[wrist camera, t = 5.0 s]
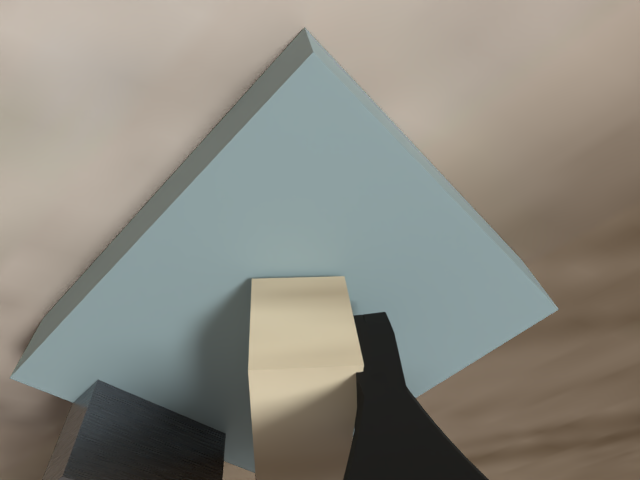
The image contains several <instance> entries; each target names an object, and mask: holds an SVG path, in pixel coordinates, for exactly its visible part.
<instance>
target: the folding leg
mask: <svg viewBox="0 0 640 480" xmlns="http://www.w3.org/2000/svg"><path fill="white" fill-rule="evenodd" d="M363 368H364V362H363V358H362V353H361V349H360V344H359V340H358V335H357V331H356V326H355V322H354V317H353V312H352V308H351V303H350V299H349V294H348V290H347V285H346V281H345V276H333V277H295V278H257V279H252V286H251V311H250V336H249V361H248V376H249V391H250V405H251V419H252V434H253V448H254V462H255V477H256V480H343V478H344V474H345V470H346V466H347V461H348V457H349V453H350V449H351V443H352V437H353V431H354V424H355V418H356V412H357V387H356V372H363Z"/></svg>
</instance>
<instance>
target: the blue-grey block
mask: <svg viewBox="0 0 640 480" xmlns="http://www.w3.org/2000/svg"><path fill="white" fill-rule="evenodd" d="M333 276H345V281H346V285H347V290H348V294H349V299H350V303H351V308H352V312H353V315H363V314H370V313H379V312H386V314H387V316H388V319H389V321H390V323H391V326H392V328H393V331H394V334H395V338H396V342H397V347H398V351H399V356H400V360H401V365H402V369H403V374H404V378H405V383H406V386H407V388H408V389H409V390H410V392H411V393H412V394H413V396H414V397H415V398H416V397H418V396H419V395H421V394H423V393H424V392H426V391H428V390H429V389H431V388H432V387H434V386H436V385H437V384H439V383H441V382H442V381H444V380H445V379H447V378H449V377H450V376H452V375H453V374H455V373H457V372H458V371H460V370H462V369H463V368H465V367H466V366H468V365H470V364H471V363H473V362H474V361H476V360H478V359H479V358H481V357H483V356H484V355H486V354H487V353H489V352H491V351H492V350H494V349H495V348H497V347H499V346H500V345H502V344H504V343H505V342H507V341H508V340H510V339H512V338H513V337H515V336H516V335H518V334H520V333H521V332H523V331H525V330H526V329H528V328H529V327H531V326H533V325H534V324H536V323H537V322H539V321H541V320H542V319H544V318H546V317H547V316H549V315H550V314H552V313H554V312H555V311H557V310H558V308H557V306H556V305H555V304H554V302H553V301H552V300H551V298H550V297H549V296H548V294H547V293H546V292H545V290H544V289H543V288H542V286H541V285H540V284H539V282H538V281H537V280H536V278H535V277H534V276H533V274H532V273H531V272H530V270H529V269H528V268H527V266H526V265H525V264H524V262H523V261H522V260H521V259H520V258H519V257H518V256H517V255H516V254H515V252H514V251H513V250H512V249H511V248H510V247H509V246H508V245H507V244H506V243H505V242H504V241H503V240H502V239H501V237H500V236H499V235H498V234H497V233H496V232H495V231H494V230H493V229H492V228H491V227H490V226H489V225H488V223H487V222H486V221H485V220H484V219H483V218H482V217H481V216H480V215H479V214H478V213H477V212H476V211H475V210H474V208H473V207H472V206H471V205H470V204H469V203H468V202H467V201H466V200H465V199H464V198H463V197H462V196H461V195H460V193H459V192H458V191H457V190H456V189H455V188H454V187H453V186H452V185H451V184H450V183H449V182H448V181H447V180H446V178H445V177H444V176H443V175H442V174H441V173H440V172H439V171H438V170H437V169H436V168H435V167H434V166H433V165H432V163H431V162H430V161H429V160H428V159H427V158H426V157H425V156H424V155H423V154H422V153H421V152H420V151H419V150H418V148H417V147H416V146H415V145H414V144H413V143H412V142H411V141H410V140H409V139H408V138H407V137H406V136H405V135H404V133H403V132H402V131H401V130H400V129H399V128H398V127H397V126H396V125H395V124H394V123H393V122H392V121H391V120H390V118H389V117H388V116H387V115H386V114H385V113H384V112H383V111H382V110H381V109H380V108H379V107H378V106H377V105H376V103H375V102H374V101H373V100H372V99H371V98H370V97H369V96H368V95H367V94H366V93H365V92H364V91H363V90H362V88H361V87H360V86H359V85H358V84H357V83H356V82H355V81H354V80H353V79H352V78H351V77H350V76H349V75H348V73H347V72H346V71H345V70H344V69H343V68H342V67H341V66H340V65H339V64H338V63H337V62H336V61H335V60H334V58H333V57H332V56H331V55H330V54H329V53H328V52H327V51H326V50H325V49H324V48H323V47H322V46H321V45H320V43H319V42H318V41H317V40H316V39H315V38H314V37H313V36H312V35H311V34H310V33H309V32H308V31H307V30H306V28H304V29H303V30H302V31H301V32H300V33H299V34H298V35H297V36H296V38H295V39H294V40H293V41H292V42H291V43H290V44H289V45H288V46H287V48H286V49H285V50H284V51H283V52H282V53H281V54H280V55H279V57H278V58H277V59H276V60H275V61H274V62H273V63H272V64H271V65H270V67H269V68H268V69H267V70H266V71H265V72H264V73H263V74H262V75H261V77H260V78H259V79H258V80H257V81H256V82H255V83H254V84H253V85H252V87H251V88H250V89H249V90H248V91H247V92H246V93H245V94H244V95H243V97H242V98H241V99H240V100H239V101H238V102H237V103H236V104H235V105H234V107H233V108H232V109H231V110H230V111H229V112H228V113H227V114H226V115H225V117H224V118H223V119H222V120H221V121H220V122H219V123H218V124H217V125H216V127H215V128H214V129H213V130H212V131H211V132H210V133H209V134H208V135H207V137H206V138H205V139H204V140H203V141H202V142H201V143H200V144H199V145H198V147H197V148H196V149H195V150H194V151H193V152H192V153H191V154H190V156H189V157H188V158H187V159H186V160H185V161H184V162H183V163H182V164H181V166H180V167H179V168H178V169H177V170H176V171H175V172H174V173H173V174H172V176H171V177H170V178H169V179H168V180H167V181H166V182H165V183H164V184H163V186H162V187H161V188H160V189H159V190H158V191H157V192H156V193H155V194H154V196H153V197H152V198H151V199H150V200H149V201H148V202H147V203H146V204H145V206H144V207H143V208H142V209H141V210H140V211H139V212H138V213H137V214H136V216H135V217H134V218H133V219H132V220H131V221H130V222H129V223H128V224H127V226H126V227H125V228H124V229H123V230H122V231H121V232H120V233H119V234H118V236H117V237H116V238H115V239H114V240H113V241H112V242H111V243H110V244H109V246H108V247H107V248H106V249H105V250H104V251H103V252H102V253H101V255H100V256H99V257H98V258H97V259H96V260H95V261H94V262H93V263H92V265H91V266H90V267H89V268H88V269H87V270H86V271H85V272H84V273H83V275H82V276H81V277H80V278H79V279H78V280H77V281H76V282H75V283H74V285H73V286H72V287H71V288H70V289H69V290H68V291H67V292H66V293H65V295H64V296H63V297H62V298H61V299H60V300H59V301H58V302H57V303H56V305H55V306H54V307H53V308H52V309H51V310H50V311H49V312H48V313H47V315H46V316H45V317H44V318H43V319H42V321H41V323H40V325H39V327H38V328H37V330H36V332H35V334H34V335H33V337H32V339H31V341H30V343H29V344H28V346H27V348H26V350H25V352H24V353H23V355H22V357H21V359H20V360H19V362H18V364H17V366H16V368H15V369H14V371H13V373H12V375H11V377H10V379H13V380H16V381H18V382H21V383H23V384H26V385H29V386H31V387H34V388H36V389H39V390H41V391H44V392H47V393H49V394H52V395H54V396H57V397H60V398H62V399H65V400H67V401H70V402H73V404H72V406H71V409H70V411H69V414H68V416H67V419H66V421H65V424H64V426H63V429H62V431H61V434H60V436H59V439H58V441H57V444H56V446H55V449H54V451H53V454H52V456H51V459H50V461H49V464H48V466H47V469H46V471H45V474H44V476H43V479H42V480H222V476H223V464H224V461H225V462H228V463H231V464H233V465H236V466H238V467H241V468H244V469H246V470H249V471H251V472H254V473H255V462H254V448H253V434H252V419H251V405H250V391H249V376H248V361H249V336H250V311H251V286H252V279H257V278H295V277H333ZM354 430H355V428H354ZM353 435H354V431H353Z"/></svg>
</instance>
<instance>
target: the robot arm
mask: <svg viewBox="0 0 640 480" xmlns="http://www.w3.org/2000/svg"><path fill="white" fill-rule="evenodd" d="M353 317H354V322H355V326H356V331H357V335H358V340H359V344H360V349H361V353H362V358H363V362H364V368H363V372H356V387H357V412H356V418H355V424H354V428H355V430H354V435H353V439H352V444H351V449H350V453H349V457H348V461H347V466H346V470H345V474H344V478H343V480H488V479H487V478H486V477H485V476H484V475H483V474H482V473H481V472H480V471H479V470H478V469H477V468H476V467H475V466H474V465H473V464H472V463H471V462H470V461H469V460H468V459H467V458H466V457H465V456H464V455H463V454H462V453H461V451H460V450H459V449H458V448H457V447H456V446H455V445H454V444H453V443H452V442H451V441H450V440H449V438H448V437H447V436H446V435H445V434H444V433H443V432H442V430H441V429H440V428H439V427H438V426H437V425H436V424H435V422H434V421H433V420H432V419H431V417H430V416H429V415H428V414H427V413H426V411H425V410H424V409H423V408H422V406H421V405H420V404H419V402H418V401H417V400H416V398H415V397H414V396H413V394H412V393H411V392H410V390H409V389H408V388H407V386H406V383H405V378H404V374H403V369H402V365H401V360H400V356H399V351H398V347H397V342H396V338H395V334H394V331H393V328H392V326H391V323H390V321H389V319H388V316H387V314H386V312H379V313H370V314H363V315H353Z"/></svg>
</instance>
